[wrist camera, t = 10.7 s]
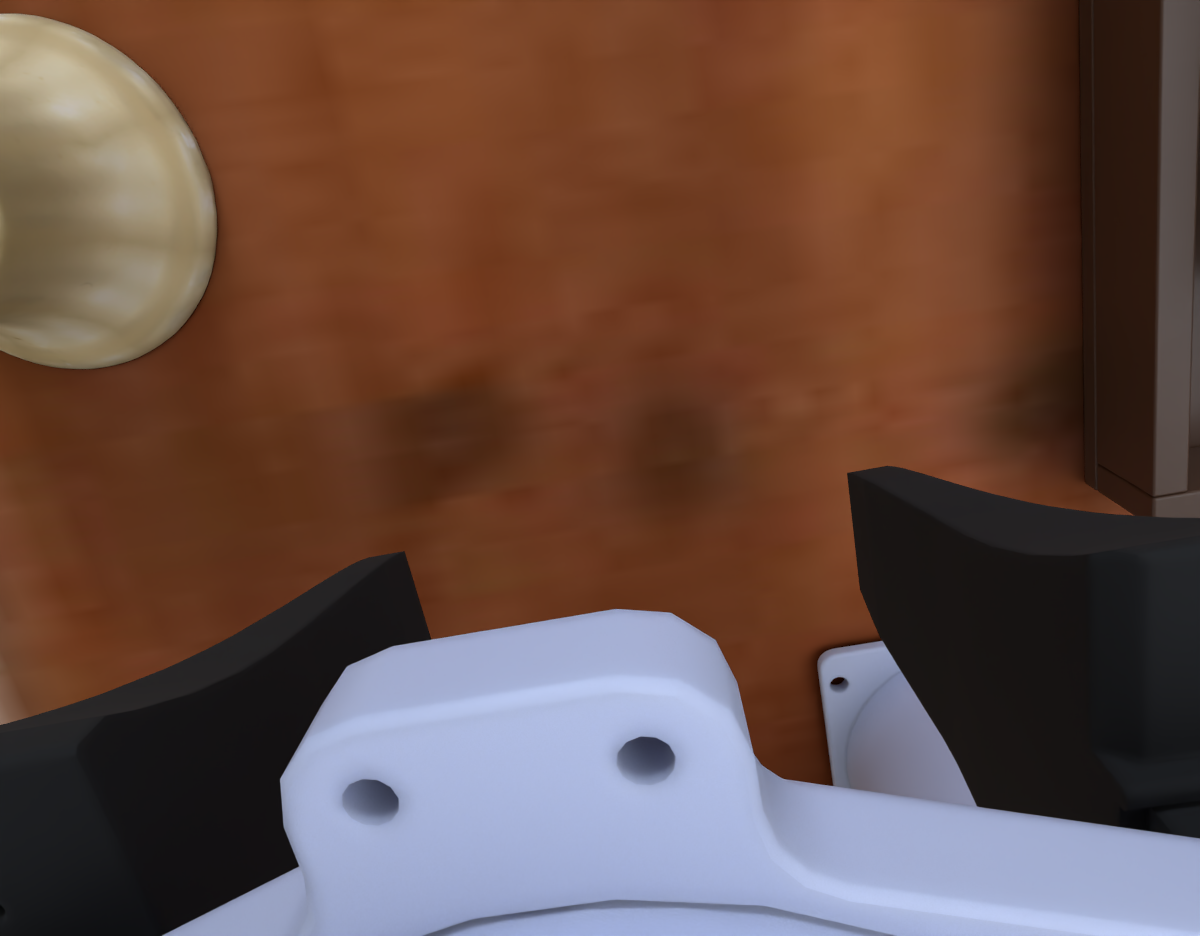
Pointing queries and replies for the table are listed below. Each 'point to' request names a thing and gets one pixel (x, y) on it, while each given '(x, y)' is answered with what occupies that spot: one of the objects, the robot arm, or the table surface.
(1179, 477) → the tray
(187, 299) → the hand bell
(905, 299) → the table surface
